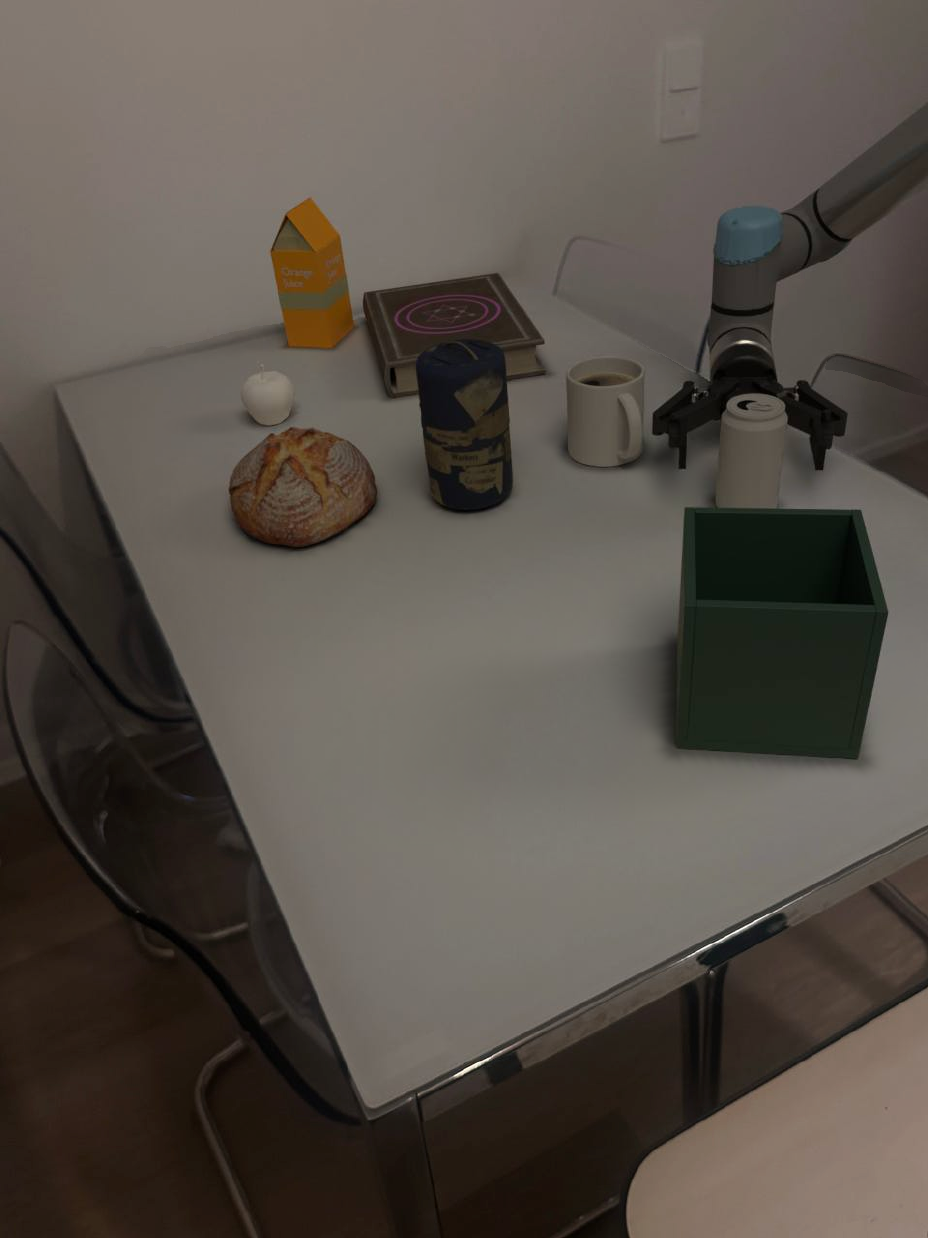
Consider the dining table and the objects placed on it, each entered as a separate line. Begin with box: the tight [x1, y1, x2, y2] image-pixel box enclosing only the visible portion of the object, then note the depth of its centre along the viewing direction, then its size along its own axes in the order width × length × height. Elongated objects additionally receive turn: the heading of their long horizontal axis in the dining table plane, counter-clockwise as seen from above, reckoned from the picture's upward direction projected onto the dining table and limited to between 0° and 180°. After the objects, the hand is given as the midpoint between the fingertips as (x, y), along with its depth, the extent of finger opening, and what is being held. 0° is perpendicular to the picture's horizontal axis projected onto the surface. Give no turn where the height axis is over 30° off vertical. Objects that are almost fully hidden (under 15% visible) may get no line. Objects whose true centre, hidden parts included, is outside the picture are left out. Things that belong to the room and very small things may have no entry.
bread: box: [228, 426, 378, 548], centre depth 112 cm, size 16×20×10 cm
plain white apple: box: [240, 363, 295, 427], centre depth 133 cm, size 7×7×8 cm
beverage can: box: [714, 394, 788, 509], centre depth 103 cm, size 6×6×12 cm
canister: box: [416, 339, 514, 511], centre depth 109 cm, size 10×10×18 cm
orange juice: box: [269, 196, 355, 349], centre depth 153 cm, size 8×9×20 cm
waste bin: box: [675, 506, 889, 760], centre depth 79 cm, size 14×14×14 cm
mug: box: [565, 355, 646, 468], centre depth 116 cm, size 11×10×10 cm
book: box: [362, 272, 547, 399], centre depth 149 cm, size 30×22×5 cm
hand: (750, 458), depth 102 cm, fingers open, 13 cm apart
